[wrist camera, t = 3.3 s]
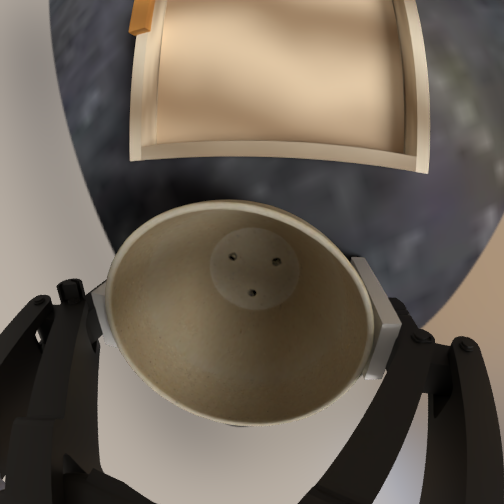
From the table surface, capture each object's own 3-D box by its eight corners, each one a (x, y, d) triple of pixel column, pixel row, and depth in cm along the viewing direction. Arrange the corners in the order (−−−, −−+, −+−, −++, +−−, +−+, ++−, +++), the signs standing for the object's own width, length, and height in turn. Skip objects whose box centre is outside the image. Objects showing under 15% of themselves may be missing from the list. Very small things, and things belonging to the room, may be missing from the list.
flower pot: (194, 338, 18) (152, 415, 12) (159, 192, 15) (74, 224, 8) (343, 334, 16) (357, 425, 10) (339, 170, 13) (381, 187, 7)
